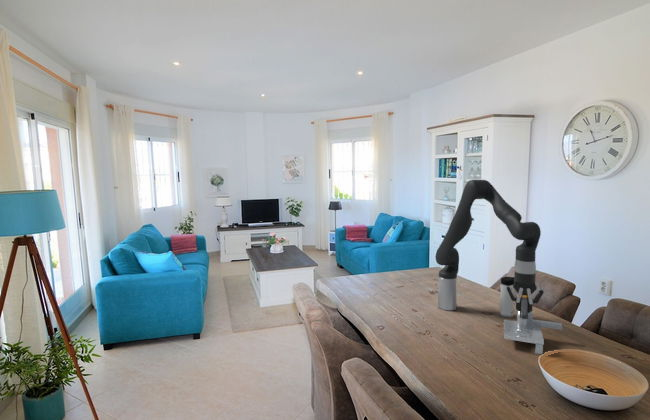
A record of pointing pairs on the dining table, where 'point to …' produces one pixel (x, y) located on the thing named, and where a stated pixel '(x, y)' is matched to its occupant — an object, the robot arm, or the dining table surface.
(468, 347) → the dining table surface
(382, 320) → the dining table surface
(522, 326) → the grey metal bracket
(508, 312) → the travel mug
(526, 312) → the pin
